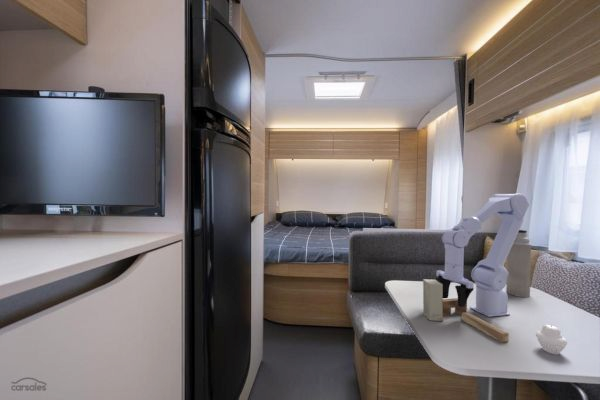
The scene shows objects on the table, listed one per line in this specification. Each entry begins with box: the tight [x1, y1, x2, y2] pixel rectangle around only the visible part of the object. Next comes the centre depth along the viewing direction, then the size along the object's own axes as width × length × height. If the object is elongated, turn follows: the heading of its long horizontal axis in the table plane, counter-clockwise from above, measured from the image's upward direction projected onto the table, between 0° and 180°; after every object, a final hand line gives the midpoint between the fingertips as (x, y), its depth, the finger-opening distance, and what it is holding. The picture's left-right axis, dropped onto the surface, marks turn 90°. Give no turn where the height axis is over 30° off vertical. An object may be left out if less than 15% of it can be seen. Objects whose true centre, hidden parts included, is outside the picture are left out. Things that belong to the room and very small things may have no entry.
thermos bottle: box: [505, 229, 532, 298], centre depth 116 cm, size 8×8×28 cm
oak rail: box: [461, 311, 510, 343], centre depth 82 cm, size 2×14×2 cm, turn 13°
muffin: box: [535, 324, 568, 355], centre depth 71 cm, size 6×6×7 cm
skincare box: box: [422, 278, 444, 322], centre depth 91 cm, size 6×4×12 cm
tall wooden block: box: [443, 297, 468, 317], centre depth 94 cm, size 10×2×5 cm, turn 103°
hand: (452, 301), depth 94 cm, fingers open, 7 cm apart
